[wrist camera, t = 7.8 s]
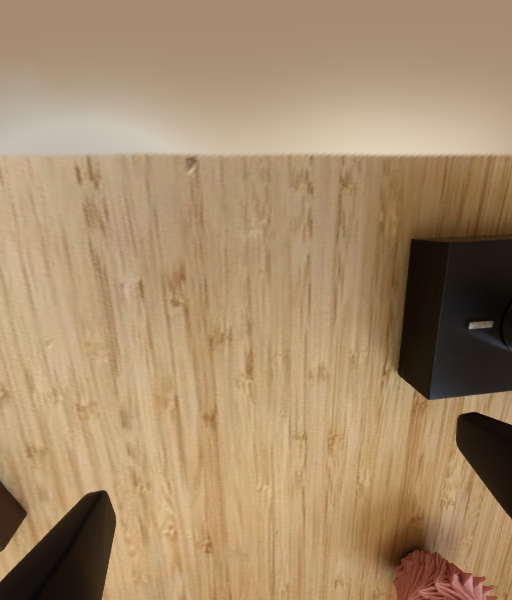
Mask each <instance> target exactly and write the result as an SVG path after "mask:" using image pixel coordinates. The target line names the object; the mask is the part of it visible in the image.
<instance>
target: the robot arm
mask: <svg viewBox="0 0 512 600" xmlns="http://www.w3.org/2000/svg"><path fill="white" fill-rule="evenodd" d="M456 443H457V446H458V448H459V450H460V452H461V453H462V454H463V456H464V457H465V458H466V460H467V461H468V462H469V464H470V465H471V466H472V468H473V469H474V470H475V472H476V473H477V474H478V476H479V477H480V478H481V480H482V481H483V482H484V484H485V485H486V487H487V488H488V489H489V491H490V492H491V493H492V495H493V496H494V497H495V499H496V500H497V501H498V503H499V504H500V505H501V506H502V508H503V509H504V510H505V512H506V513H507V514H508V515H509V516H510V518H511V519H512V425H510V424H507V423H505V422H502V421H499V420H496V419H494V418H491V417H488V416H485V415H482V414H480V413H477V412H470V413H465V414H461V415H459V416H458V418H457V429H456ZM115 527H116V516H115V512H114V509H113V507H112V504H111V501H110V498H109V495H108V493H107V492H106V491H105V490H101V491H96V492H91V493H88V494H86V495H85V496H84V497H83V498H82V499H81V500H80V501H79V502H78V503H77V504H76V505H75V506H74V507H73V508H72V509H71V510H70V511H69V512H68V513H67V514H66V515H65V516H64V517H63V518H62V519H61V520H60V521H59V522H58V523H57V524H56V525H55V526H54V527H53V528H52V529H51V530H50V531H49V532H48V533H47V535H46V536H45V537H44V538H43V539H42V540H41V541H40V542H39V543H38V544H37V545H36V546H35V547H34V548H33V549H32V550H31V551H30V552H29V553H28V554H27V555H26V556H25V557H24V558H23V559H22V560H21V561H20V562H19V563H18V564H17V565H16V566H15V567H14V568H13V569H12V570H11V571H10V572H9V573H8V574H7V575H6V577H5V578H4V579H3V580H2V581H1V582H0V600H102V595H103V590H104V585H105V580H106V574H107V569H108V564H109V559H110V554H111V548H112V543H113V538H114V533H115Z"/></svg>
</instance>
